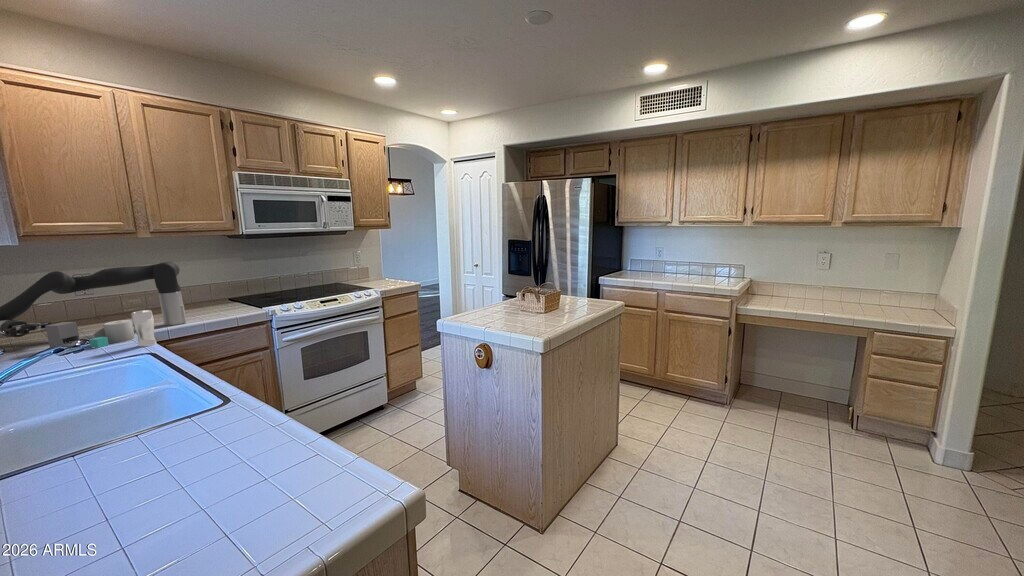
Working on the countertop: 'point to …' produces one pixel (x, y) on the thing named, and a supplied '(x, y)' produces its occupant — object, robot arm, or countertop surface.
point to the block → (99, 342)
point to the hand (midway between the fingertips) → (40, 328)
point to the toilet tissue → (117, 331)
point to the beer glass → (144, 327)
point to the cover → (62, 333)
